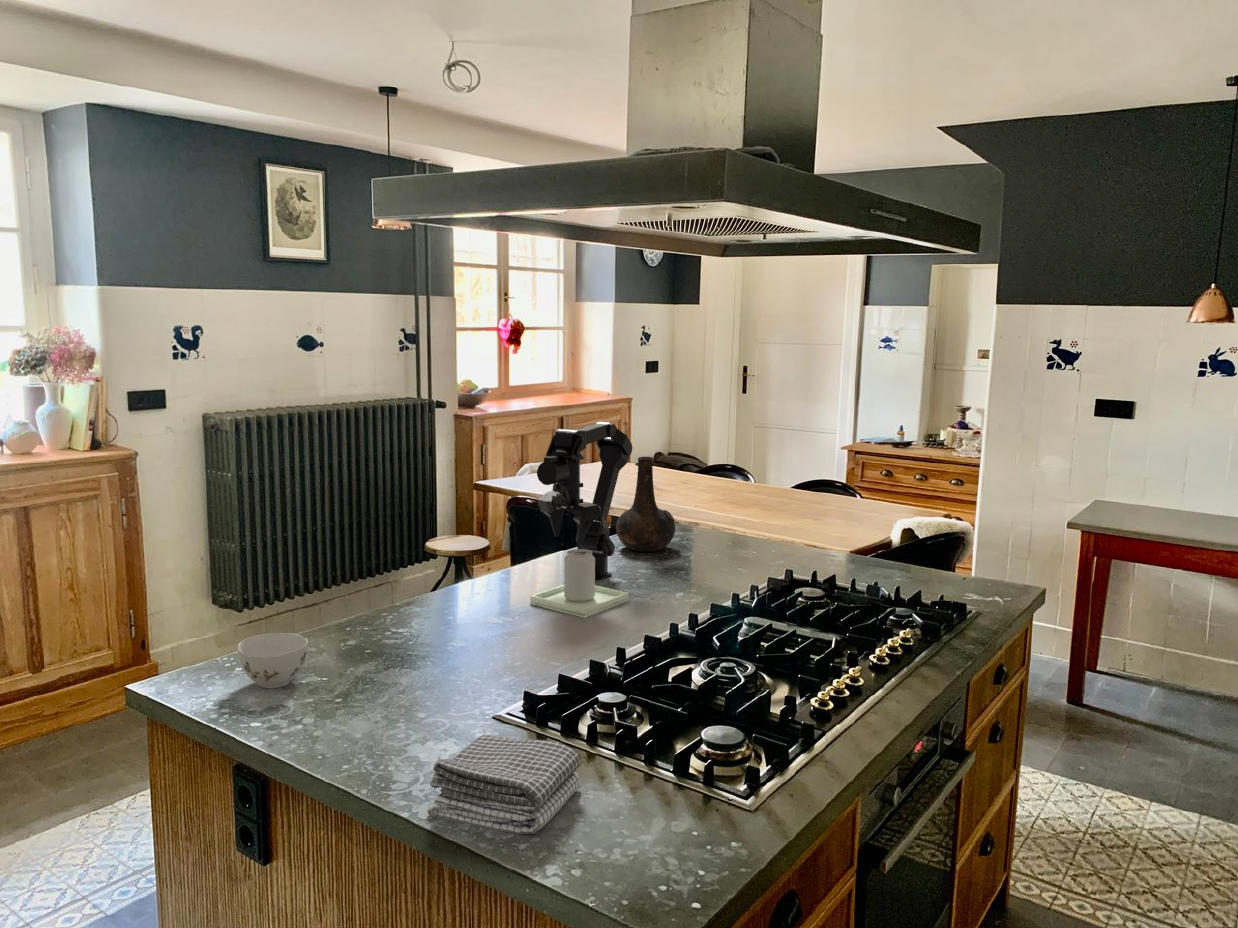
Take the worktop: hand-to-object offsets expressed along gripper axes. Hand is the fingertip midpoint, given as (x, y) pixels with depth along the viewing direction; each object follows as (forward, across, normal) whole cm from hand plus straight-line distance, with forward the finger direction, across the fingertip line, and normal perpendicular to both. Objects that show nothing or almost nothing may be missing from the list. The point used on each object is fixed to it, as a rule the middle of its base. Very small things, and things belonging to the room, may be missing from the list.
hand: (568, 539), depth 237 cm
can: (+12, +10, -5) cm, 17 cm away
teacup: (+13, +10, -80) cm, 82 cm away
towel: (+14, +75, -75) cm, 107 cm away
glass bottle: (+13, -17, +45) cm, 50 cm away
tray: (+13, +10, -5) cm, 18 cm away
